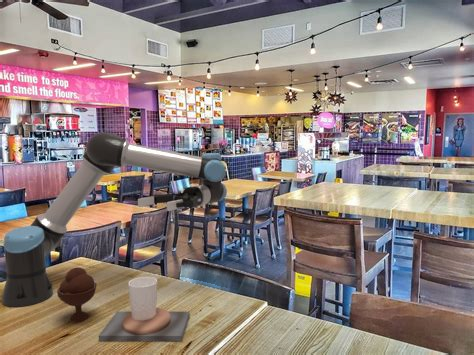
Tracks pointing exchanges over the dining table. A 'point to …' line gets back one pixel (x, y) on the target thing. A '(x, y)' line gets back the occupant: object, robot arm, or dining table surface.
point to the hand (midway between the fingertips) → (152, 204)
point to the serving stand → (146, 327)
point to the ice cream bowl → (77, 291)
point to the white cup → (143, 298)
